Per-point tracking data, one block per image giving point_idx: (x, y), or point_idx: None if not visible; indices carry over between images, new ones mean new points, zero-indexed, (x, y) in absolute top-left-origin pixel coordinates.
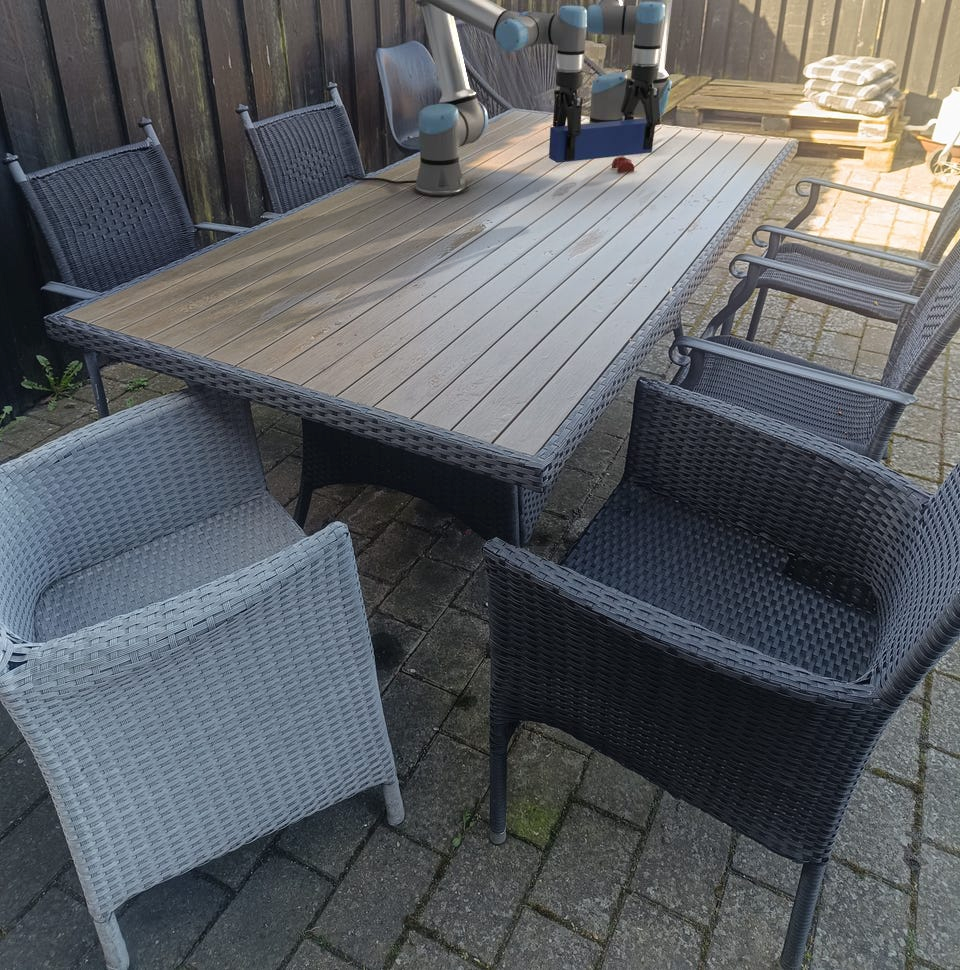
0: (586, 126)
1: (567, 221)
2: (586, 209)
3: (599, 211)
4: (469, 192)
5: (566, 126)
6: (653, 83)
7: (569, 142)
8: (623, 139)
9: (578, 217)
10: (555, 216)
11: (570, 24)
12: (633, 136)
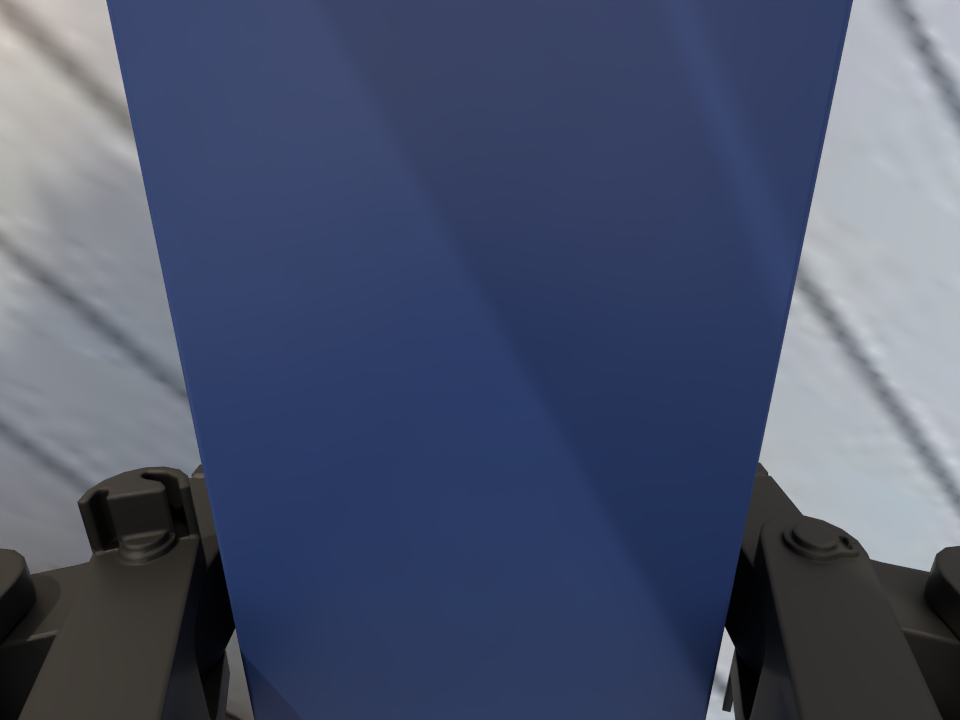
0: (517, 89)
1: (930, 457)
2: (816, 253)
3: (906, 187)
4: (245, 694)
5: (329, 617)
6: None
7: None
8: None
9: (915, 372)
10: (817, 479)
11: None
12: None
